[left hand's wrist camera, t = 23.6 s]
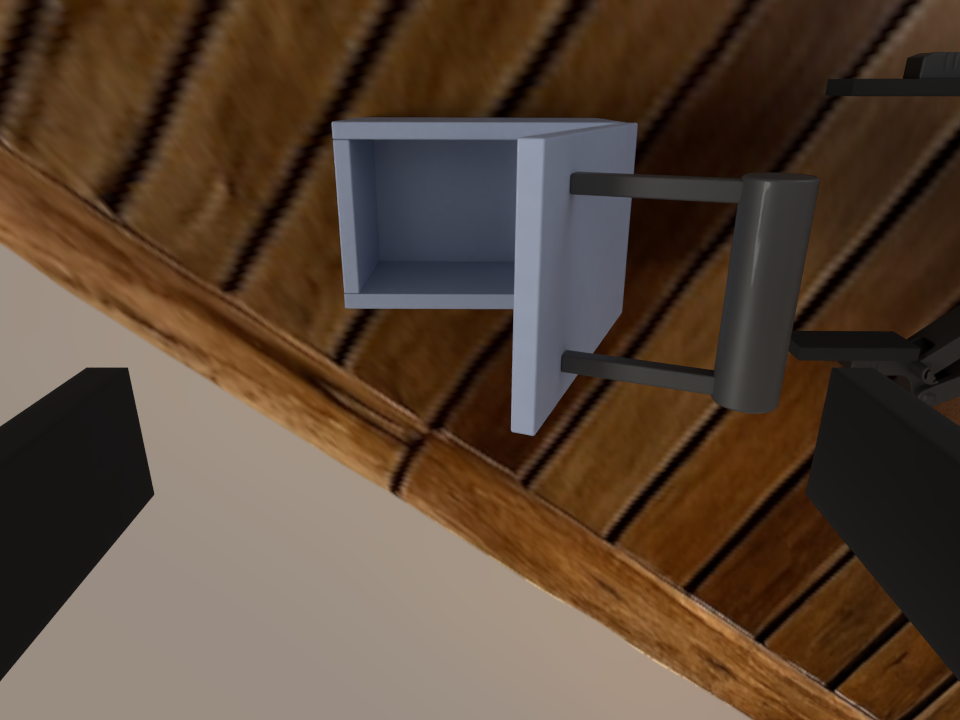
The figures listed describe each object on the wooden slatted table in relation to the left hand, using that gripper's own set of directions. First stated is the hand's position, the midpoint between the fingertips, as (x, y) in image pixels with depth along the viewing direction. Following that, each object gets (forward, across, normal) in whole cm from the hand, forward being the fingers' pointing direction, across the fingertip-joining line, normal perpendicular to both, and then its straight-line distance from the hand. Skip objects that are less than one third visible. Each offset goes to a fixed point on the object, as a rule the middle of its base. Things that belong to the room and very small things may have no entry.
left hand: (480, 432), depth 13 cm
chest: (+32, 0, 0) cm, 32 cm away
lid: (+16, +4, 0) cm, 17 cm away
